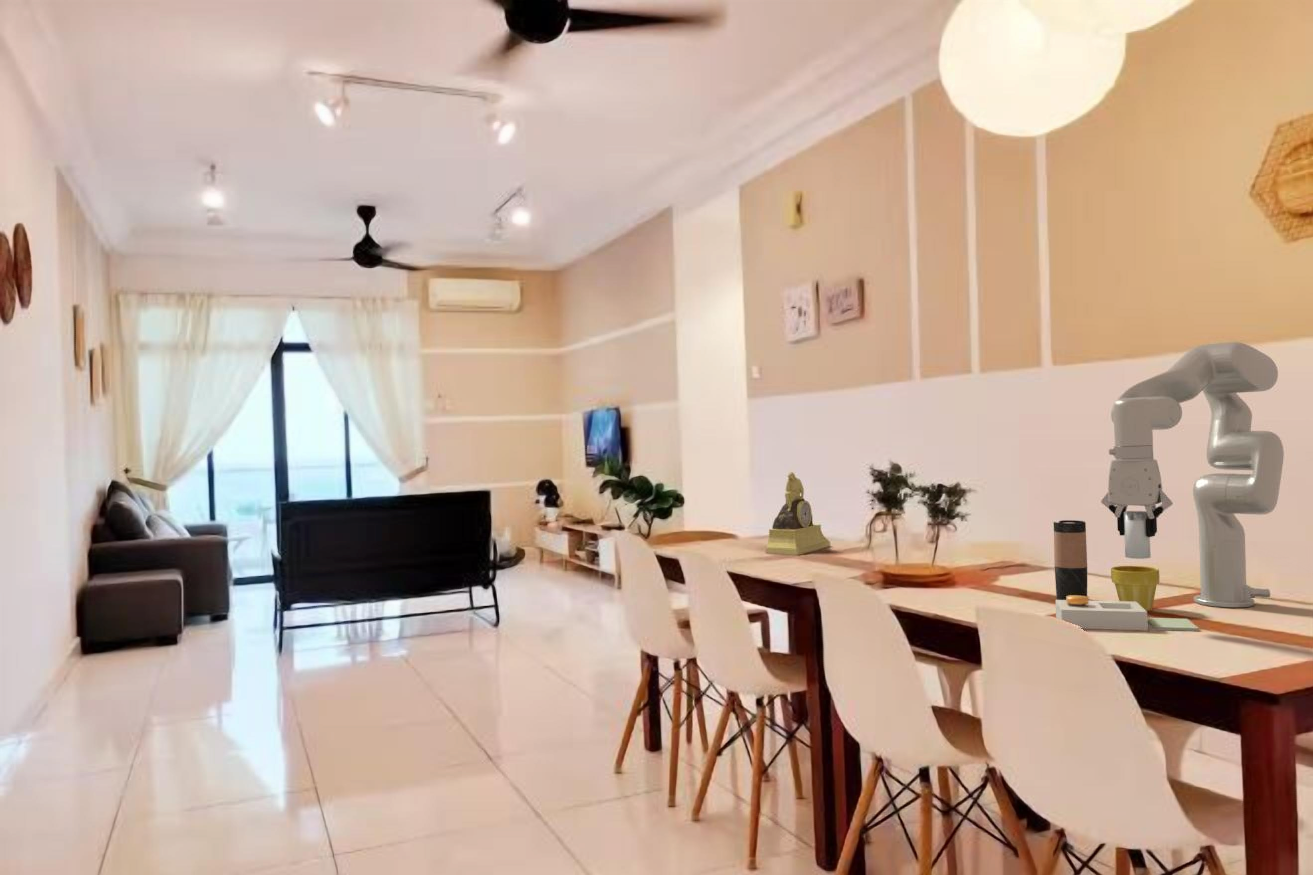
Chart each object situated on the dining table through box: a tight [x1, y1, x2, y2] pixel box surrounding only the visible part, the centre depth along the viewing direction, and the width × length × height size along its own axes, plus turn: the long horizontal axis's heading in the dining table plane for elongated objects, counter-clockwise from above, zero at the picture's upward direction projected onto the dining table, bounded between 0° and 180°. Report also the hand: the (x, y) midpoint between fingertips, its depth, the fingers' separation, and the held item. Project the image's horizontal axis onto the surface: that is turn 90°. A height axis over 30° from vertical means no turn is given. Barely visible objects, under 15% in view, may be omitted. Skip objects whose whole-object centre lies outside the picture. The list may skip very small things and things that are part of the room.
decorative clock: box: [765, 471, 831, 556], centre depth 347 cm, size 28×13×30 cm, turn 144°
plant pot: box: [1110, 565, 1160, 612], centre depth 220 cm, size 10×10×10 cm
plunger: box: [1066, 595, 1090, 607], centre depth 207 cm, size 5×5×4 cm
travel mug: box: [1053, 519, 1088, 600], centre depth 233 cm, size 8×8×20 cm
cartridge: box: [1123, 510, 1152, 560], centre depth 203 cm, size 5×5×10 cm
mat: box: [1147, 617, 1200, 632], centre depth 201 cm, size 8×10×1 cm
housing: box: [1055, 599, 1149, 631], centre depth 205 cm, size 17×12×4 cm
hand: (1137, 534), depth 203 cm, fingers closed on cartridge, 5 cm apart
